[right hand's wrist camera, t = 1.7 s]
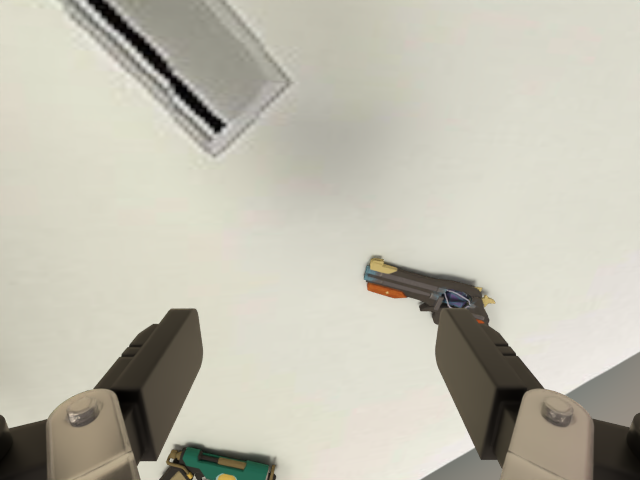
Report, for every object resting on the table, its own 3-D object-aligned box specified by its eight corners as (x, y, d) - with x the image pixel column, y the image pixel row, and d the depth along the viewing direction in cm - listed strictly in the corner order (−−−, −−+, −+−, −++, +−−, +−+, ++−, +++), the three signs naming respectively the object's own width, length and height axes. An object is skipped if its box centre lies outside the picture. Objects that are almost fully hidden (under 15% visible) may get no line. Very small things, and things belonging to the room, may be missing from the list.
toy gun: (489, 365, 45) (528, 304, 40) (347, 327, 44) (371, 262, 40) (482, 350, 47) (518, 291, 43) (347, 314, 47) (370, 251, 43)
